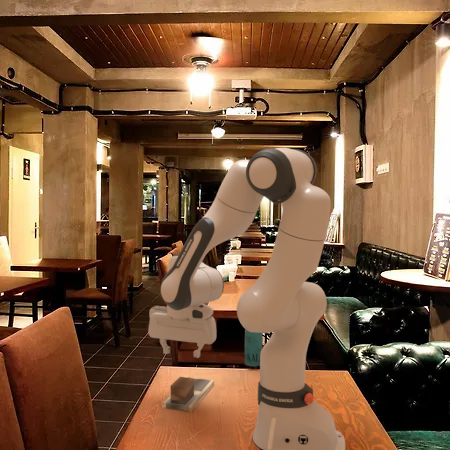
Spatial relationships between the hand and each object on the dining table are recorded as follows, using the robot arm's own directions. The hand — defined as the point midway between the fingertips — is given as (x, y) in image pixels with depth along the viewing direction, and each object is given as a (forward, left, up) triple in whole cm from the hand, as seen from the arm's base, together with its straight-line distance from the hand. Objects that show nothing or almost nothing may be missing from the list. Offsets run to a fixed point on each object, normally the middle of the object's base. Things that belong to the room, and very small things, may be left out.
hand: (181, 355), depth 130 cm
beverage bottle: (-13, -35, -15) cm, 40 cm away
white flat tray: (0, -6, -14) cm, 15 cm away
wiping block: (0, 0, -13) cm, 13 cm away
